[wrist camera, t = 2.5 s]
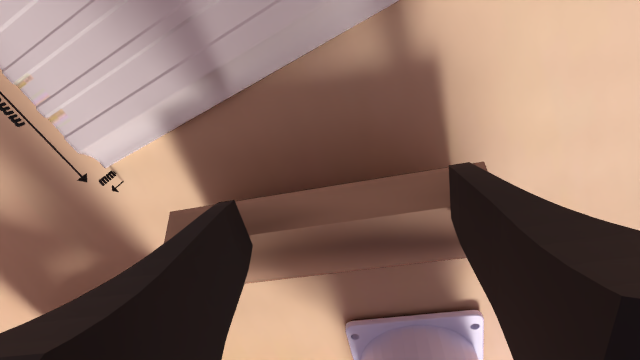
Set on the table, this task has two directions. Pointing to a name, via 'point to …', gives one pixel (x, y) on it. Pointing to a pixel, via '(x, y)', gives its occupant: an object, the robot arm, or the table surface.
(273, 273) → the plank
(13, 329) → the robot arm
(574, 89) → the table surface
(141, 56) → the baseboard
